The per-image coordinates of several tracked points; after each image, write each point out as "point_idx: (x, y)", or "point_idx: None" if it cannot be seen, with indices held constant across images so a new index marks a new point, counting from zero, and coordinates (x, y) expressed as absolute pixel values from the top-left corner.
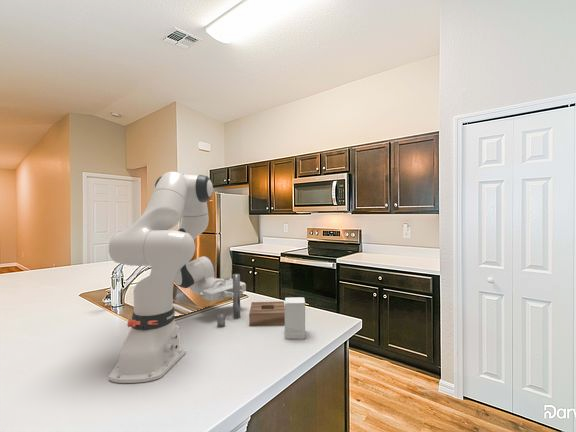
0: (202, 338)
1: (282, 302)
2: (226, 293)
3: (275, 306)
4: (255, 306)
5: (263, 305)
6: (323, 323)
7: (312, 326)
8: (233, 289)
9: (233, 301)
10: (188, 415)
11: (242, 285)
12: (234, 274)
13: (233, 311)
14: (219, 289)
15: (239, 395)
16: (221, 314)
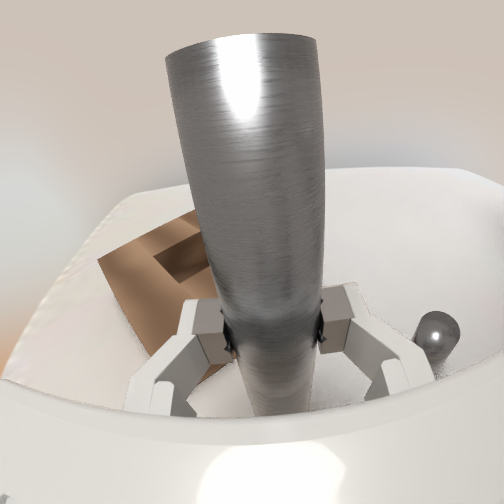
0: (493, 305)
1: (111, 254)
2: (402, 345)
3: (169, 242)
4: (215, 290)
5: (174, 281)
6: (165, 208)
7: (193, 209)
8: (321, 278)
9: (313, 371)
10: (482, 181)
11: (36, 391)
12: (248, 39)
13: (308, 407)
14: (484, 428)
15: (436, 172)
16: (438, 328)
